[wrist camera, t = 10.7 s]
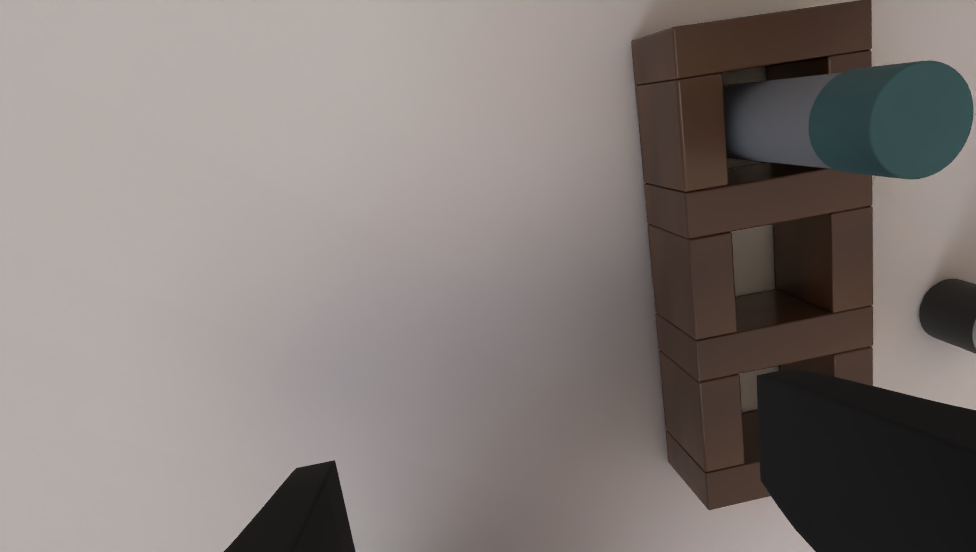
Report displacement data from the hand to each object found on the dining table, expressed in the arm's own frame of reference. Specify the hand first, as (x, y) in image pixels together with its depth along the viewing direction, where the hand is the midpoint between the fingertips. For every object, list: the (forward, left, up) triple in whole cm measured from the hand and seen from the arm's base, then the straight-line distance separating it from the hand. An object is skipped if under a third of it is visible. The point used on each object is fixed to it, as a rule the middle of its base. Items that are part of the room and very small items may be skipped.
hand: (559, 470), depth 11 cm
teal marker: (+4, -9, -10) cm, 14 cm away
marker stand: (0, -9, -10) cm, 13 cm away
